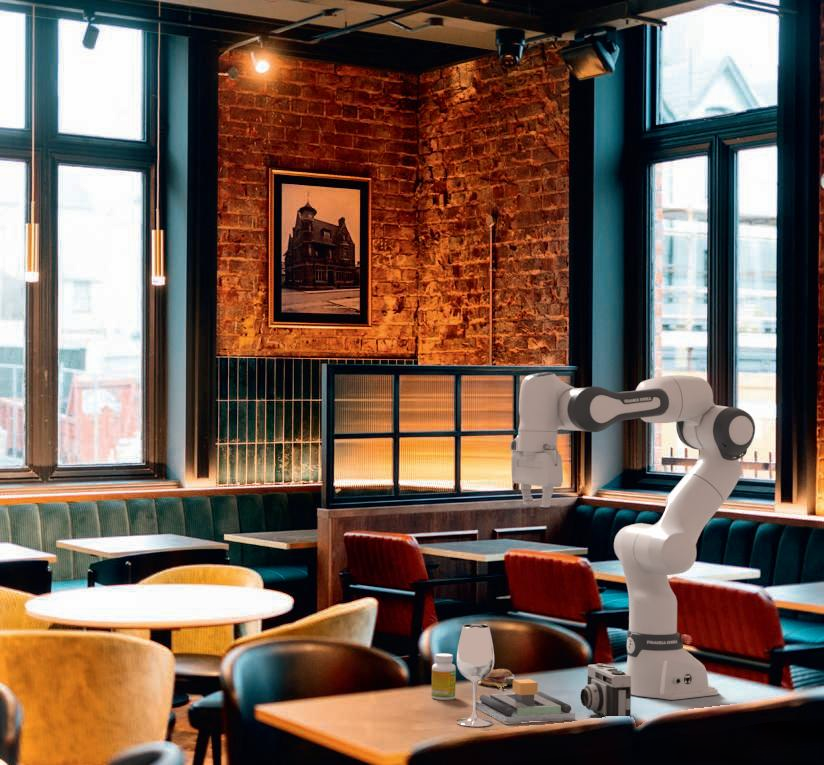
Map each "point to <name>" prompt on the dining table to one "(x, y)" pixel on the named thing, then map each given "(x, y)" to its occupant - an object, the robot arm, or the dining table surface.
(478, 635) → the wineglass
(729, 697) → the dining table surface
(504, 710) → the dark grey slide rails
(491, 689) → the dining table surface
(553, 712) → the panel
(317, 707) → the dining table surface
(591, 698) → the camera
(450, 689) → the supplement bottle
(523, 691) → the toggle
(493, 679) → the hamburger
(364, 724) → the dining table surface
